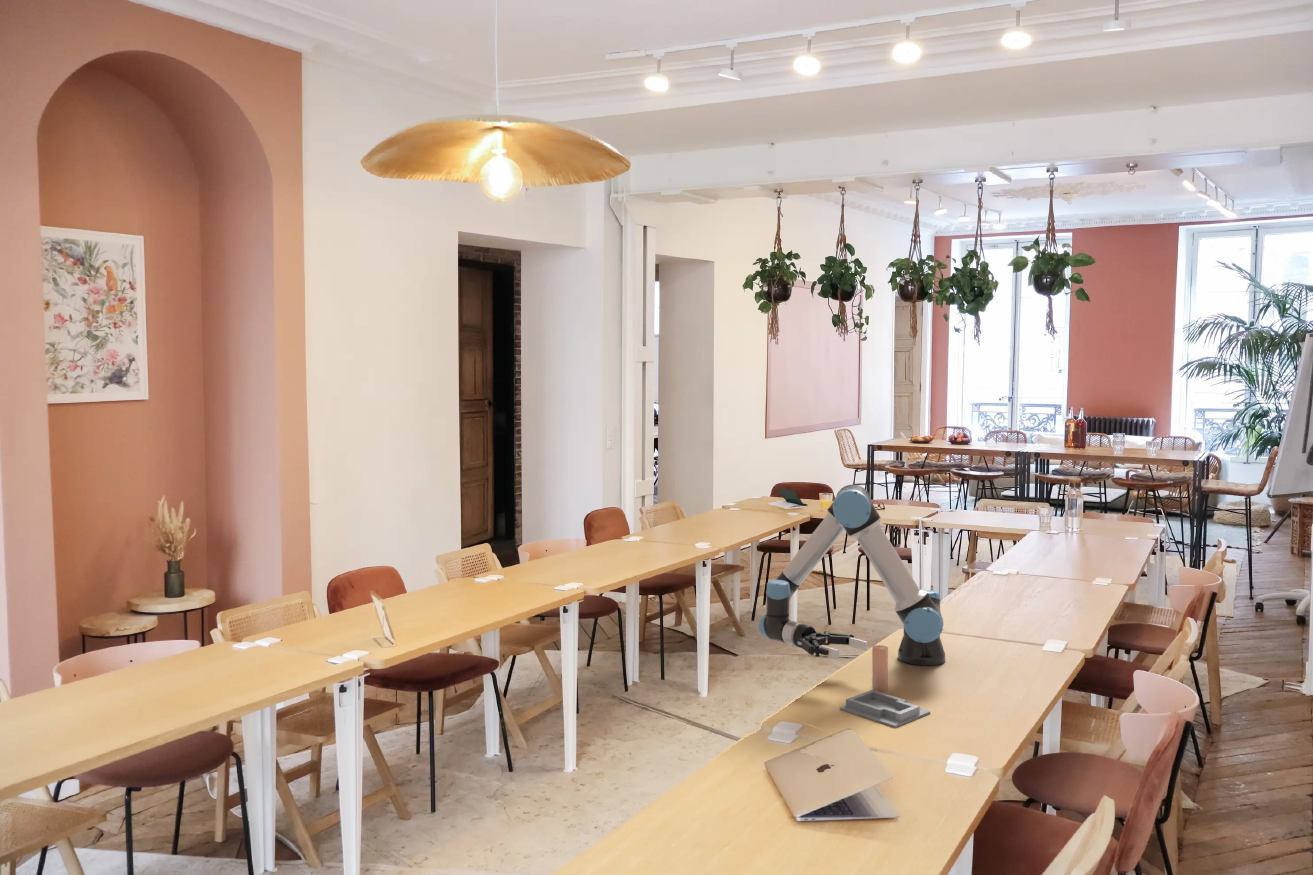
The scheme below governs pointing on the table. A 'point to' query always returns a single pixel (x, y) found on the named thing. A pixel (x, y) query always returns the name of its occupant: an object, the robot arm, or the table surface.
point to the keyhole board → (883, 708)
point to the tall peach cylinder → (880, 668)
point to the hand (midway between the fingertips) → (852, 650)
